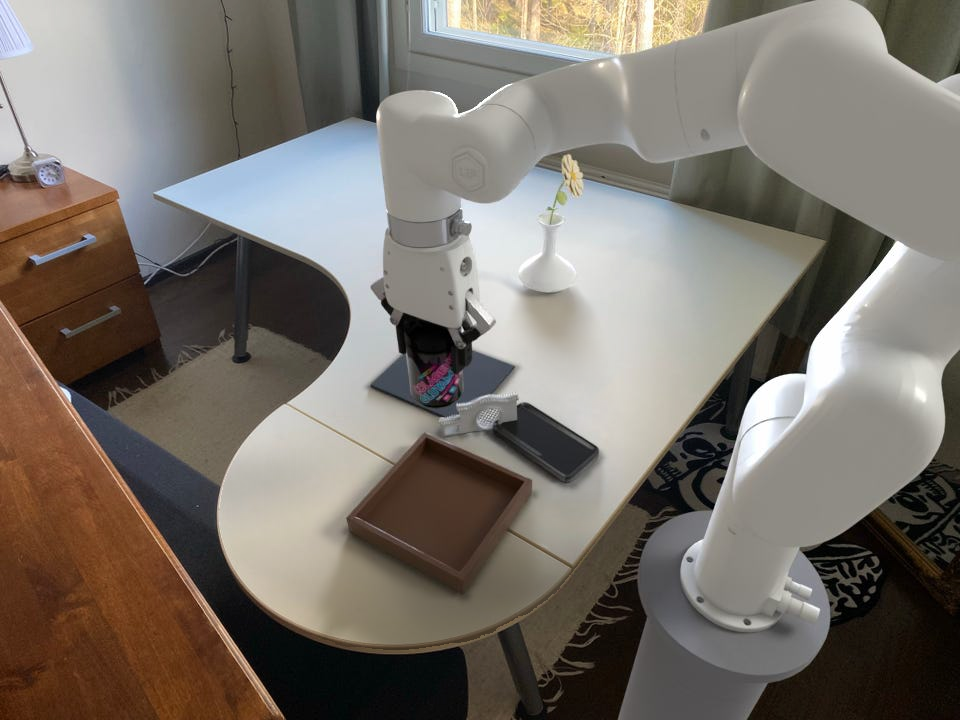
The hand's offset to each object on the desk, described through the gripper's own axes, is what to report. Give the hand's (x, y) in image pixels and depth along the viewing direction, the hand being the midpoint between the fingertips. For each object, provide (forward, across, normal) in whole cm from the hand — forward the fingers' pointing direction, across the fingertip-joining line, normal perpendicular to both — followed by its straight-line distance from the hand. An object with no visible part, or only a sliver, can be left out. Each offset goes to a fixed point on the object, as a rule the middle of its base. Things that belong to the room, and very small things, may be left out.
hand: (434, 356), depth 79 cm
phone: (+22, -9, -13) cm, 27 cm away
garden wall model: (+22, 0, -11) cm, 25 cm away
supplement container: (+6, 0, 0) cm, 6 cm away
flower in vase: (+22, +9, -53) cm, 59 cm away
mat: (+22, +12, -18) cm, 31 cm away
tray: (+22, -3, +5) cm, 23 cm away
